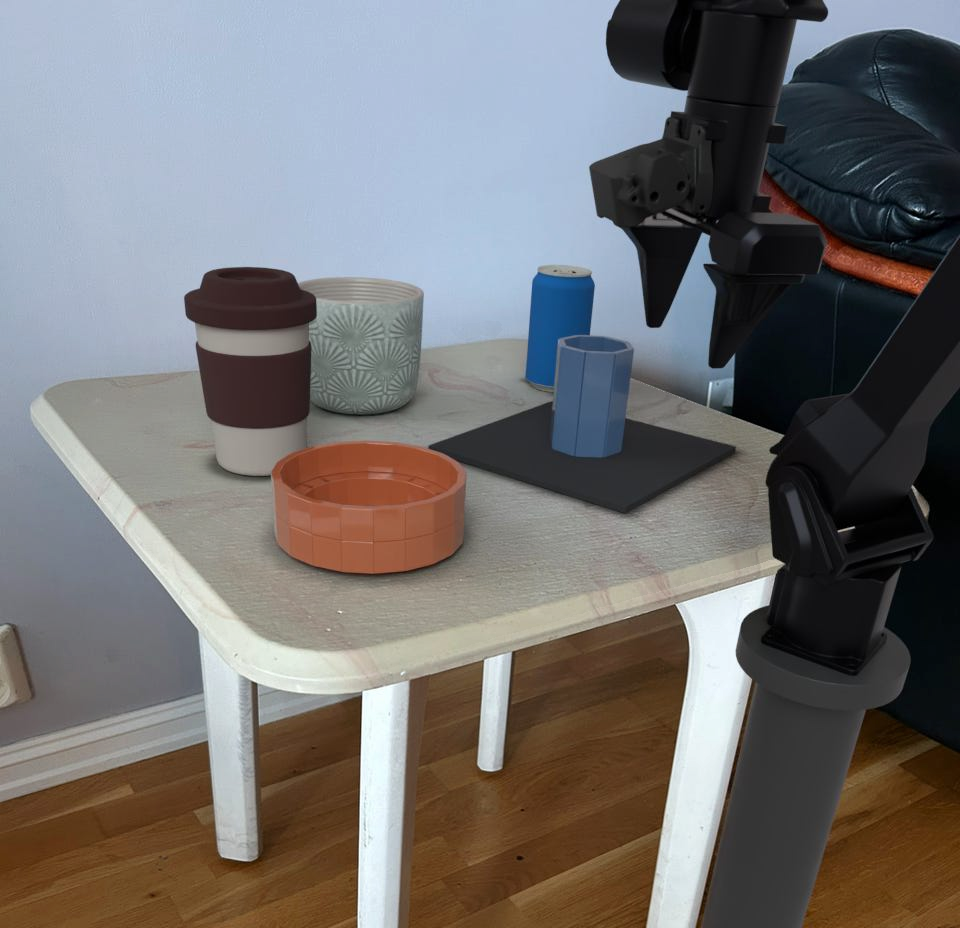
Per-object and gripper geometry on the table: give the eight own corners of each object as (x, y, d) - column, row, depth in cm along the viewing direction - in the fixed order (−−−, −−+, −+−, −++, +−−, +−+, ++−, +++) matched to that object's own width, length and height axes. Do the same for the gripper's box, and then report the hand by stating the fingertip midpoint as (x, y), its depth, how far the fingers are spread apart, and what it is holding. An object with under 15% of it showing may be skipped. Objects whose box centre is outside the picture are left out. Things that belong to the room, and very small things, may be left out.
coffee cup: (340, 474, 81) (335, 282, 73) (221, 491, 76) (203, 289, 69) (297, 437, 88) (288, 260, 80) (186, 451, 84) (166, 265, 76)
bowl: (500, 537, 71) (504, 472, 69) (375, 600, 62) (375, 526, 59) (366, 490, 78) (365, 428, 75) (236, 540, 69) (230, 471, 66)
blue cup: (624, 458, 85) (637, 354, 81) (553, 456, 85) (563, 351, 81) (614, 436, 91) (626, 336, 86) (547, 433, 91) (556, 333, 86)
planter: (441, 416, 95) (444, 299, 90) (318, 428, 90) (313, 305, 85) (395, 382, 105) (395, 274, 100) (281, 391, 100) (275, 278, 95)
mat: (735, 452, 90) (736, 446, 90) (625, 513, 76) (626, 506, 76) (554, 405, 100) (554, 399, 100) (428, 451, 86) (428, 445, 86)
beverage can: (585, 380, 109) (597, 266, 103) (583, 396, 104) (595, 277, 98) (527, 375, 110) (535, 262, 104) (522, 391, 104) (530, 272, 98)
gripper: (557, 76, 67) (531, 310, 75) (693, 113, 52) (642, 396, 61) (700, 87, 70) (660, 309, 79) (865, 124, 56) (793, 390, 64)
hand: (683, 346), depth 71 cm, fingers open, 9 cm apart
